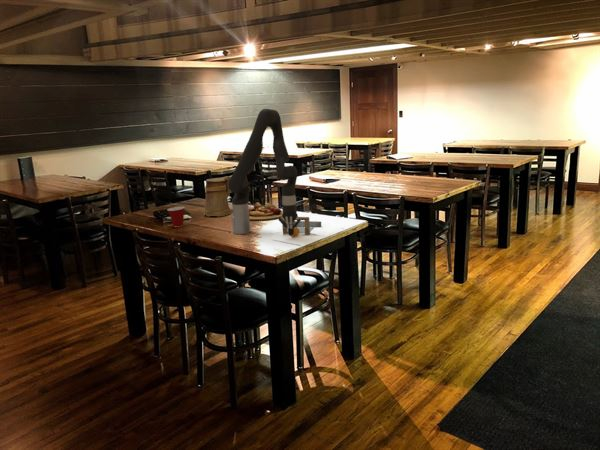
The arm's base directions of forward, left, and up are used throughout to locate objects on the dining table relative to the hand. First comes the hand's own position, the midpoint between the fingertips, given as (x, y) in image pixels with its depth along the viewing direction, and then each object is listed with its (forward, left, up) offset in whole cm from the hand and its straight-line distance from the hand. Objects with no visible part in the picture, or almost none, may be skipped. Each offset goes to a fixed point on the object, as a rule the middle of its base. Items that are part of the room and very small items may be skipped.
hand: (290, 234), depth 270 cm
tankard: (-69, +59, -3) cm, 91 cm away
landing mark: (0, +19, -2) cm, 19 cm away
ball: (+1, +4, +1) cm, 4 cm away
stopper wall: (0, +28, -2) cm, 28 cm away
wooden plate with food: (-37, +55, -3) cm, 66 cm away
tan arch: (0, +10, -2) cm, 11 cm away
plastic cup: (-81, +22, -3) cm, 84 cm away
